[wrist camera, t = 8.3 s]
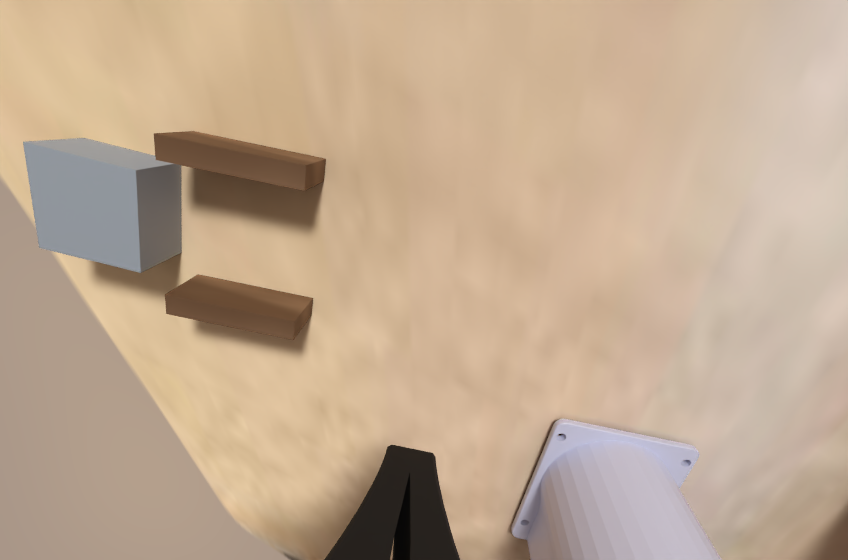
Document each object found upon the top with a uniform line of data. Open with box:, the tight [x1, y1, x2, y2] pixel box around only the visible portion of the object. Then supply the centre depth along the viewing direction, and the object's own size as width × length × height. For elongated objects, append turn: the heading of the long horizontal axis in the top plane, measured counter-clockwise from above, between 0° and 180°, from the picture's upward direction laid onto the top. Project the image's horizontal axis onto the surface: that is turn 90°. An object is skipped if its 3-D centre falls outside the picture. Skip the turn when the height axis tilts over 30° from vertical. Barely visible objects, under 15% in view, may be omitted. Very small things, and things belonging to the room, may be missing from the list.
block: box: [23, 138, 182, 273], centre depth 18 cm, size 4×4×3 cm
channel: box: [154, 131, 326, 340], centre depth 18 cm, size 8×6×2 cm
